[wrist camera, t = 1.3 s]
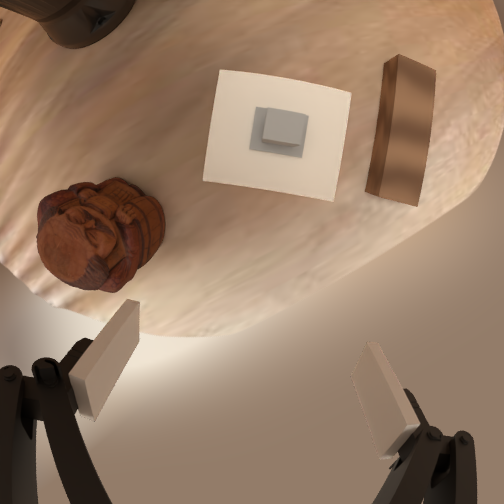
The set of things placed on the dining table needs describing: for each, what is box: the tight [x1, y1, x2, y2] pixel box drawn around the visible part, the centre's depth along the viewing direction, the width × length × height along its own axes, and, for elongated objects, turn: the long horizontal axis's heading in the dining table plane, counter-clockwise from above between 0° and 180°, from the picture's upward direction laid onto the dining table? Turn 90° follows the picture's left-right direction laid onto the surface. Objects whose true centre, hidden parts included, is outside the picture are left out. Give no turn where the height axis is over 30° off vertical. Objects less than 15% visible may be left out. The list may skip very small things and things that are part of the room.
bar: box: [365, 54, 436, 207], centre depth 31 cm, size 18×6×5 cm, turn 171°
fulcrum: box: [203, 70, 351, 202], centre depth 29 cm, size 14×16×9 cm
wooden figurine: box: [36, 177, 165, 293], centre depth 28 cm, size 12×6×18 cm, turn 54°
